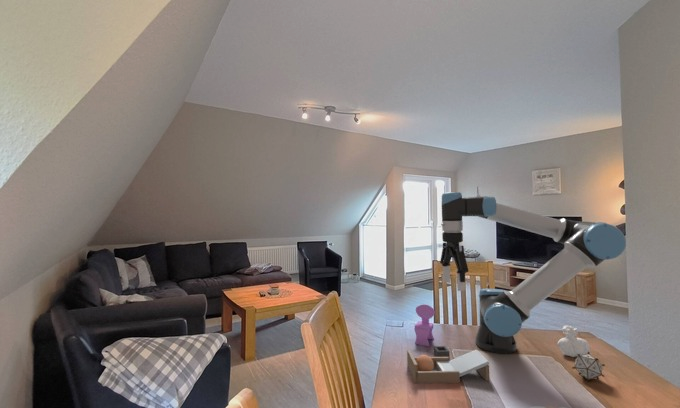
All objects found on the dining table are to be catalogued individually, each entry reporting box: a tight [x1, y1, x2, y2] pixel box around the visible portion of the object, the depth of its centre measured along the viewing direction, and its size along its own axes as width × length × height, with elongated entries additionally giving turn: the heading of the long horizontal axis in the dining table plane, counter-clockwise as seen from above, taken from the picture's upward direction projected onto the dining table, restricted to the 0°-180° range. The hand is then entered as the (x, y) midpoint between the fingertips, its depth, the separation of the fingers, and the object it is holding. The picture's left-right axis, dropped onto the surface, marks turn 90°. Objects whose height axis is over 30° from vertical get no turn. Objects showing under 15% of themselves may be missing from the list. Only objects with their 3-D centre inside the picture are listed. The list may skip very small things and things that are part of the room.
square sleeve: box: [433, 345, 450, 358], centre depth 123 cm, size 5×5×2 cm
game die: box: [571, 352, 606, 383], centre depth 105 cm, size 9×8×10 cm
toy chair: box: [414, 304, 436, 347], centre depth 136 cm, size 8×9×15 cm
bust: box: [556, 325, 591, 358], centre depth 124 cm, size 12×8×11 cm
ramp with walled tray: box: [406, 349, 491, 384], centre depth 109 cm, size 25×11×6 cm, turn 90°
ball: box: [416, 354, 434, 371], centre depth 109 cm, size 6×6×6 cm
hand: (453, 286), depth 124 cm, fingers open, 13 cm apart
